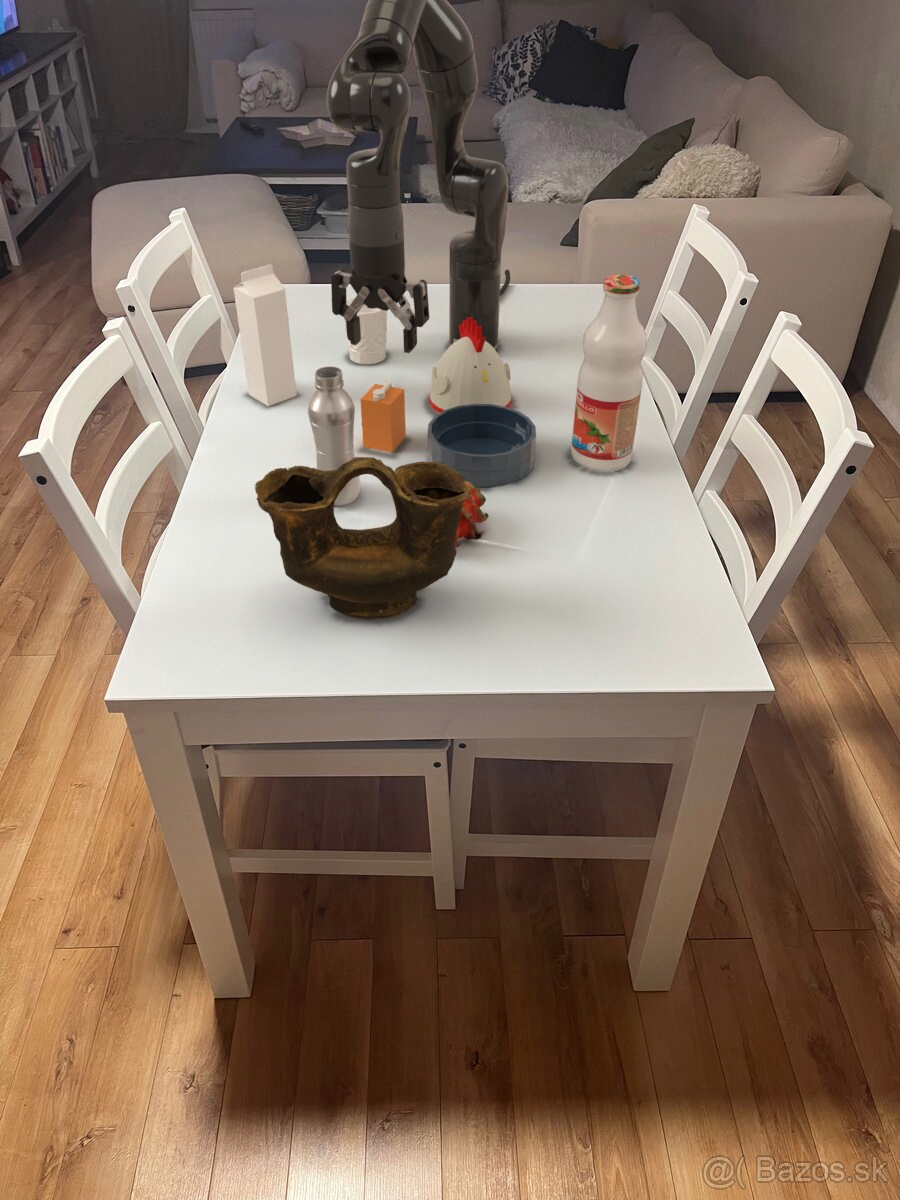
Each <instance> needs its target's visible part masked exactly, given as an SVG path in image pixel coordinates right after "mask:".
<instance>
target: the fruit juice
mask: <svg viewBox="0 0 900 1200" xmlns="http://www.w3.org/2000/svg"><path fill="white" fill-rule="evenodd" d="M640 284H641V283H640V280H639V279H638V278H637V277H636V276H632V275H628V274H611V275H608V276H606V277H605V278H604V280H603V286H602V291H603V293H604V296H603V297H604V298H603V301H602V304H601V306H600V309H599V311H598V312H597V314H596V316H595V317H594V319H593V320H592V321H591V322H590V323H589V324H588V326H587V327H586V328H585V330H584V333H583V336H582V342H581V343H582V351H583V356H584V357H583V361H582V362H581V364H580V367H579V371H578V377H577V385H576V395H575V396H576V397H575V406H574V417H573V426H572V438H571V448H570V453H571V457H572V458H573V460H574V461H575V462H576V463H578V464H579V465H581V466H584V467H586V468H590V469H592V470H599V471H612V470H614V472H618V471H621V470H624V469H625V468H626V467H628V466H629V464H630V463H631V460H632V457H633V452H634V445H635V437H636V431H637V424H638V418H639V409H640V402H641V395H642V390H643V379H644V371H643V368H642V361H643V358H644V356H645V354H646V351H647V347H648V335H647V332H646V329H645V328H644V326H643V325H642V323H641V322H640V321H639V317H638V312H637V305H636V304H637V303H636V300H637V299H636V298H637V296H638V294H639V292H640V287H641V285H640Z"/></svg>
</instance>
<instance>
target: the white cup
mask: <svg viewBox="0 0 900 1200" xmlns="http://www.w3.org/2000/svg"><path fill="white" fill-rule="evenodd" d="M355 298H356V297H353V298H349V299H346V300H347V305H348V306H350V305H351V303H352V302H353V300H354V299H355ZM357 316H359V317H360V332H361V340H360V342H359V343H358V344H357V345H352V344H351V342H350V340H348V338H347V329H346V320H345V319H344V318H343V319H344V327H345V335H346V341H347V342H346V343H347V346H348V353H349V359H350V360H351V361H352V362H353V363H355V364H359V365H376V364H379V363H381V362H382V361H384V360H385V359H386V357H387V352H386V351H387V337H388V333H387V331H388V311H385V310H381V309H379V308H373V309H371V308H367V306H366V305H365V304H364V305H363V307H362V308H361V309H360V311H359V312H358V313H357Z"/></svg>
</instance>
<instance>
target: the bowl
mask: <svg viewBox="0 0 900 1200" xmlns="http://www.w3.org/2000/svg"><path fill="white" fill-rule="evenodd" d="M427 425H428V426H427V462H439V463H441V464H445V465H447V466H448V467H449V468H451V469H452V470H454V471H456V472H458V473H459V474H460V475H461V476H464V477H465V481H469V482H471V483H472V484H473V486H475V487H477V488H493V487H494V488H495V487H500V486H505V485H509V484H512V483H514V482H517V481H519V480H521V479H523V478H524V477H525V476H527V475H529V473H530V472H531V470H532V469H533V467H534V465H535V456H536V455H535V454H536V442H537V426H536V425H535V423H534V422H533V421H532V419H531V418H530V417H529V416H527V415H525V414H524V413H522V412H521V411H519V410H516V409H513V408H510V407H509V408H508V407H504V406H498V405H492V404H469V405H461V406H457V407H453V408H450V409H447V410H444V411H443V412H441V413H439V412H438V414H436V415H434V416H433V417H432V419H431V420H430V421H429V422H428V424H427Z"/></svg>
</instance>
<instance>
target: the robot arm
mask: <svg viewBox="0 0 900 1200" xmlns="http://www.w3.org/2000/svg"><path fill="white" fill-rule="evenodd" d="M411 56H412V58H413V63H414V67H415V72H416V75H417V80H418V83H419V88H420V91H421V95H422V98H423V102H424V106H425V112H426V116H427V122H428V125H429V126H428V127H429V131H430V136H431V137H430V138H431V143H432V149H433V156H434V163H435V164H434V165H435V172H436V179H437V186H438V187H437V188H438V191H439V196H440V199H441V201H442V204H443V206H444V208H445V209H446V210H448V211H449V212H451V213H453V214H457V215H461V216H466V217H470V218H475V223H474V228H473V230H469V231H465V232H461V233H459V234H456V235H454V236H453V237H452V238H451V240H450V242H449V307H448V308H449V310H448V311H449V313H448V314H449V317H448V319H449V321H448V322H449V323H448V324H449V326H448V327H449V329H448V332H449V333H448V335H449V336H448V348H449V347H450V346H451V345H452V344H453V343H454V342H456V341H457V340H459V339H461V336H460V329H459V324H463V321H465V320H467V318H469V317H473V321H477V327H478V326H482V337H486V338H485V341H486V342H488V343H489V344H490V345H491V346H492V347H493V348H494V349H495V351H496V352H497V351H498V350H499V342H500V341H499V326H500V300H501V297H502V296H503V294H505V292H506V291H507V289H508V287H509V285H510V282H511V272H510V269H505V270H504V276H505V280H504V283H503V285H502V287H501V276H502V275H501V272H502V271H501V270H502V269H501V268H502V249H503V245H504V240H505V235H506V225H507V212H508V203H509V187H510V186H509V184H510V183H509V182H510V181H509V174H508V171H507V169H506V168H507V167H505V165H504V164H503V163H502V162H499V161H496V160H491V159H486V158H479V157H473V156H469V154H468V152H467V151H466V146H465V141H464V125H465V121H466V119H467V117H468V114H469V112H470V110H471V107H472V105H473V103H474V101H475V98H476V95H477V92H478V88H479V80H480V79H479V75H480V74H479V70H478V64H477V63H478V62H477V57H476V52H475V47H474V40H473V37H472V33H471V32H470V30H469V28H468V26H467V24H466V23H465V21H464V19H463V18H462V17H461V16H460V15H459V14H458V12H457V11H456V9H455V8H454V7H453V6H452V5H451V4H450V2H449V1H448V0H368V1H367V4H366V6H365V9H364V14H363V16H362V20H361V24H360V27H359V31H358V35H357V37H356V39H354V41H353V43H352V44H351V46H350V47H349V49H348V50H347V52H346V53H345V54H344V56H343V57H342V59H341V60H340V61H339V63H338V64H337V66H336V68H335V69H334V71H333V73H332V74H331V75H332V76H331V77H330V80H329V82H328V86H327V90H326V97H325V103H326V104H325V105H326V111H327V114H328V117H329V119H330V120H331V122H332V123H333V125H334V126H335V127H336V128H337V129H339V130H340V131H344V132H351V133H366V134H379V135H380V141H379V144H378V146H377V147H373V148H368V149H367V148H366V149H361V150H358V151H355V152H353V153H350V155H349V156H348V157H347V159H346V162H345V164H346V165H345V172H346V173H345V174H346V184H347V185H346V186H347V187H346V188H347V202H348V207H347V233H348V243H349V245H348V246H349V257H350V259H349V260H350V268H351V270H352V271H351V273H349V272H347V271H345V269H344V268H340V269H338V270H337V271H335V272H334V273H333V274H332V275H331V278H330V284H331V312H332V314H333V315H335V316H341V317H342V318H343V319H345V320H346V328H345V330H346V329H347V337H346V339H347V338H348V340H350V342H351V344H352V345H357V344H358V343H359V342H360V340H361V332H360V317H359V316H357V313H358V312H359V311H360V309H361V308H362V307H363V305H364V304H365V305H366V306H367V308H371V309H373V308H379V309H381V310H385V311H387V312H388V311H390V312H391V314H392V315H393V316H394V317H395V318H396V319H398V320H399V322H400V323H401V325H402V326H403V329H402V331H403V352H404V354H411V352H412V351H413V350H414V349H415V348H416V347H417V345H418V328H422V327H424V326H425V324H426V323H427V322H428V321H429V320H430V307H429V306H430V305H429V294H428V293H429V292H428V282H427V281H426V280H425V279H420V280H419V281H408V279H407V277H406V273H405V271H406V261H405V231H404V230H405V229H404V213H403V209H402V200H401V199H402V197H401V196H402V195H401V161H402V153H403V148H404V147H403V146H404V141H405V136H406V132H407V128H408V123H409V120H410V116H411V110H412V102H413V98H412V97H413V96H412V91H411V87H410V85H409V83H408V81H407V79H406V78H405V76H403V74H402V73H403V72H405V70H407V67H408V65H409V64H410V60H411ZM349 285H350V286H351V287H352V289H353V290H354V293H356V296H355V297H354V298H355V299H354V300H353V302H352V303H351V305H350V306H348V305H347V300H348V299H347V288H348V287H349ZM406 292H408V293H409V296H410V298H411V299H412V300H413V308H414V311H413V309H412V307H411V303H410V302H409V300H408V299H407V297H406V296H405V293H406ZM345 320H344V321H345Z"/></svg>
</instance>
